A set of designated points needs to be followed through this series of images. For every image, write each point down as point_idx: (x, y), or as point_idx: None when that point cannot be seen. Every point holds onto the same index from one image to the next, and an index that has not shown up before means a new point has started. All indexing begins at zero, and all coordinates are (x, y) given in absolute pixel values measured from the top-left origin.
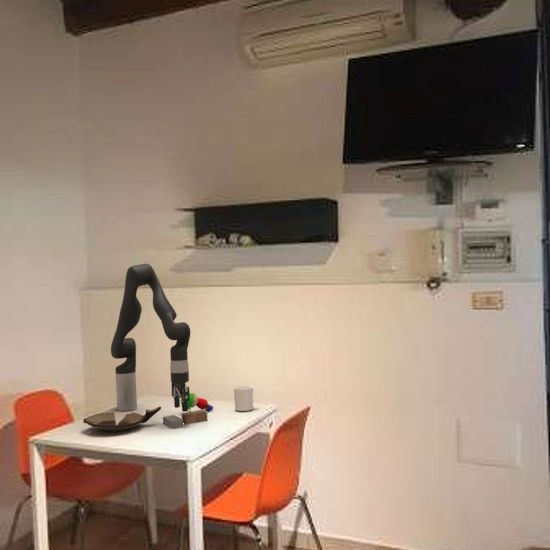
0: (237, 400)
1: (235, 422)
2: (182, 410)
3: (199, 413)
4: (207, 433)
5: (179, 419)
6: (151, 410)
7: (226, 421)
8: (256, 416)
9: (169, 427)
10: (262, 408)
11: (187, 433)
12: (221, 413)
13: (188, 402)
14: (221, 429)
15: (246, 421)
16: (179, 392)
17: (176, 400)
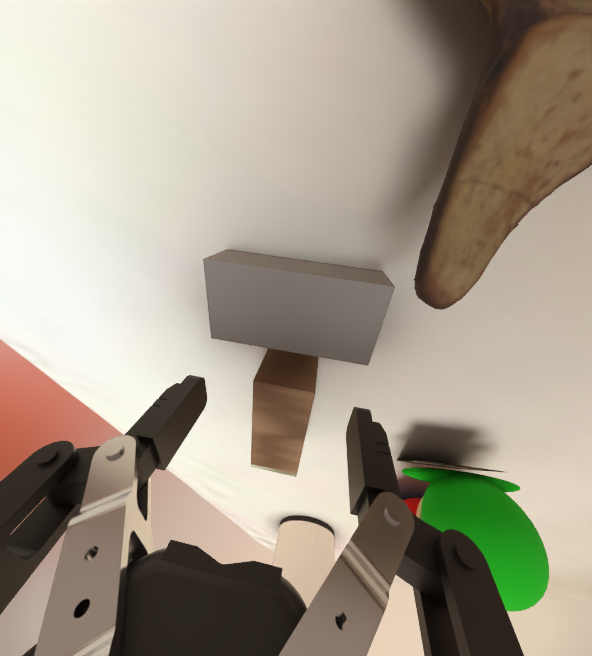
0: (294, 567)
1: (183, 452)
2: (188, 378)
3: (252, 438)
4: (70, 328)
5: (228, 325)
6: (503, 154)
7: (211, 448)
8: (216, 503)
9: (267, 255)
10: None
11: (96, 266)
12: (325, 494)
13: (435, 514)
14: (113, 388)
15: (177, 469)
16: (48, 619)
17: (358, 477)
